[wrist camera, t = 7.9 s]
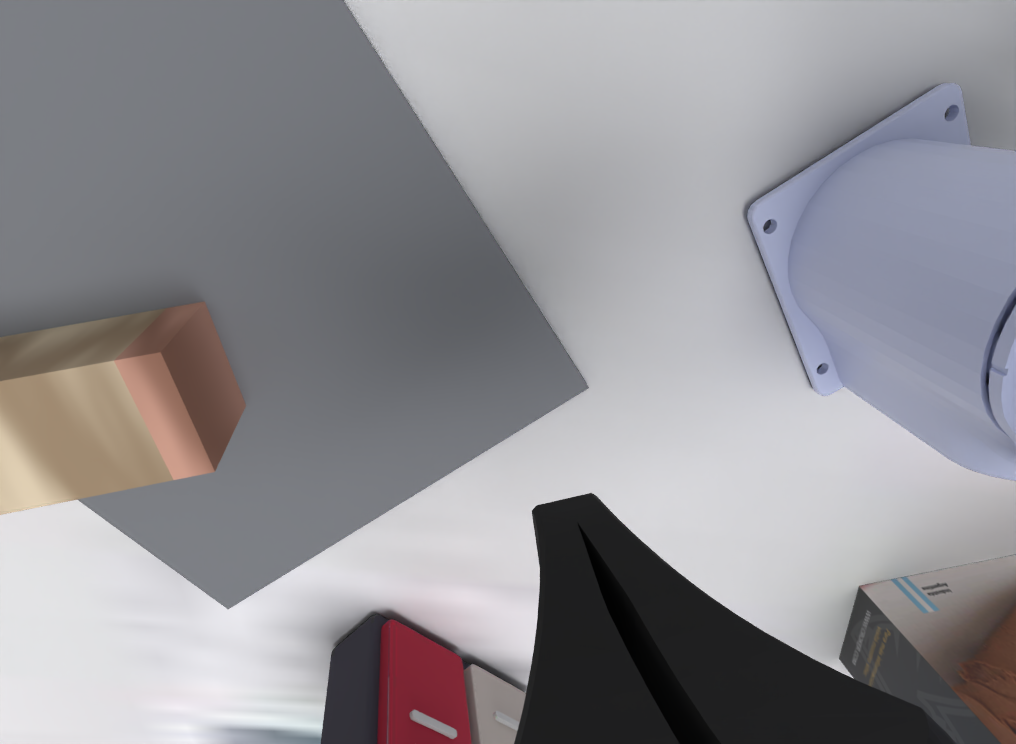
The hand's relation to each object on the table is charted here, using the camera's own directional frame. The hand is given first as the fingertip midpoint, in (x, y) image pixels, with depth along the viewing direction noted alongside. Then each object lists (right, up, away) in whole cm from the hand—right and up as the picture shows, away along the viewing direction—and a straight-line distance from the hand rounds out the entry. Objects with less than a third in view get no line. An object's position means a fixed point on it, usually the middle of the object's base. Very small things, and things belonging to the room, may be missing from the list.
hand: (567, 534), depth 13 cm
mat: (-11, +5, +7) cm, 14 cm away
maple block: (-11, +3, +6) cm, 12 cm away
